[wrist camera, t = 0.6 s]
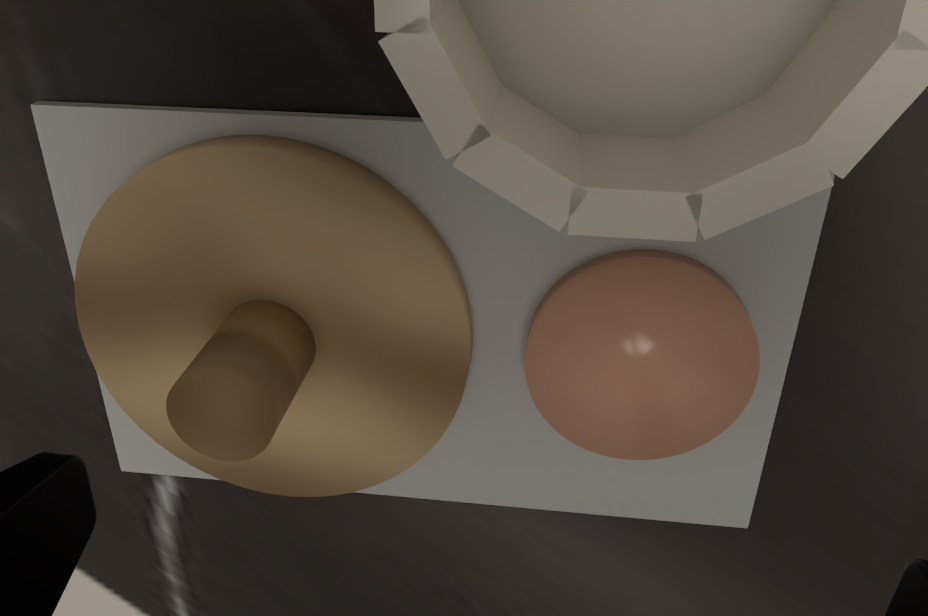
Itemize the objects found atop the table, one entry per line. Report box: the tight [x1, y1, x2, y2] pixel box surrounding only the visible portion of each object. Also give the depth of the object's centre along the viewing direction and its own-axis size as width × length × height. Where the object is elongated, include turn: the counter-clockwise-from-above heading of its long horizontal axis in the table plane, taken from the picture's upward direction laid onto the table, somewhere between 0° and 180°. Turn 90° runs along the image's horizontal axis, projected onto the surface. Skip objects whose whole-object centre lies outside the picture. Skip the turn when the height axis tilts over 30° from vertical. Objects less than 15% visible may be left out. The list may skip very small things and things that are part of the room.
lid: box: [75, 135, 473, 497], centre depth 21 cm, size 11×11×4 cm
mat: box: [31, 101, 835, 528], centre depth 22 cm, size 12×20×1 cm, turn 89°
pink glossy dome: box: [525, 249, 760, 460], centre depth 21 cm, size 6×6×1 cm
